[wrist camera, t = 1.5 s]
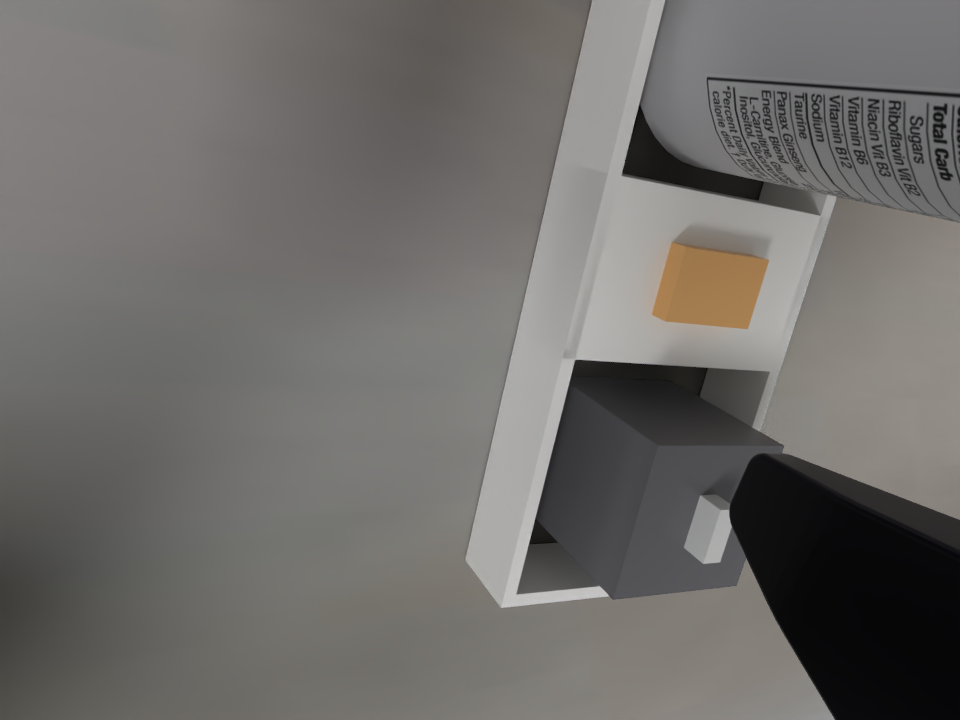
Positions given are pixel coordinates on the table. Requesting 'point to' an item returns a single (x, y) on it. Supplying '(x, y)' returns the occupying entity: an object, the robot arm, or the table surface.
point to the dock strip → (632, 297)
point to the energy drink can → (815, 96)
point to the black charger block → (647, 486)
